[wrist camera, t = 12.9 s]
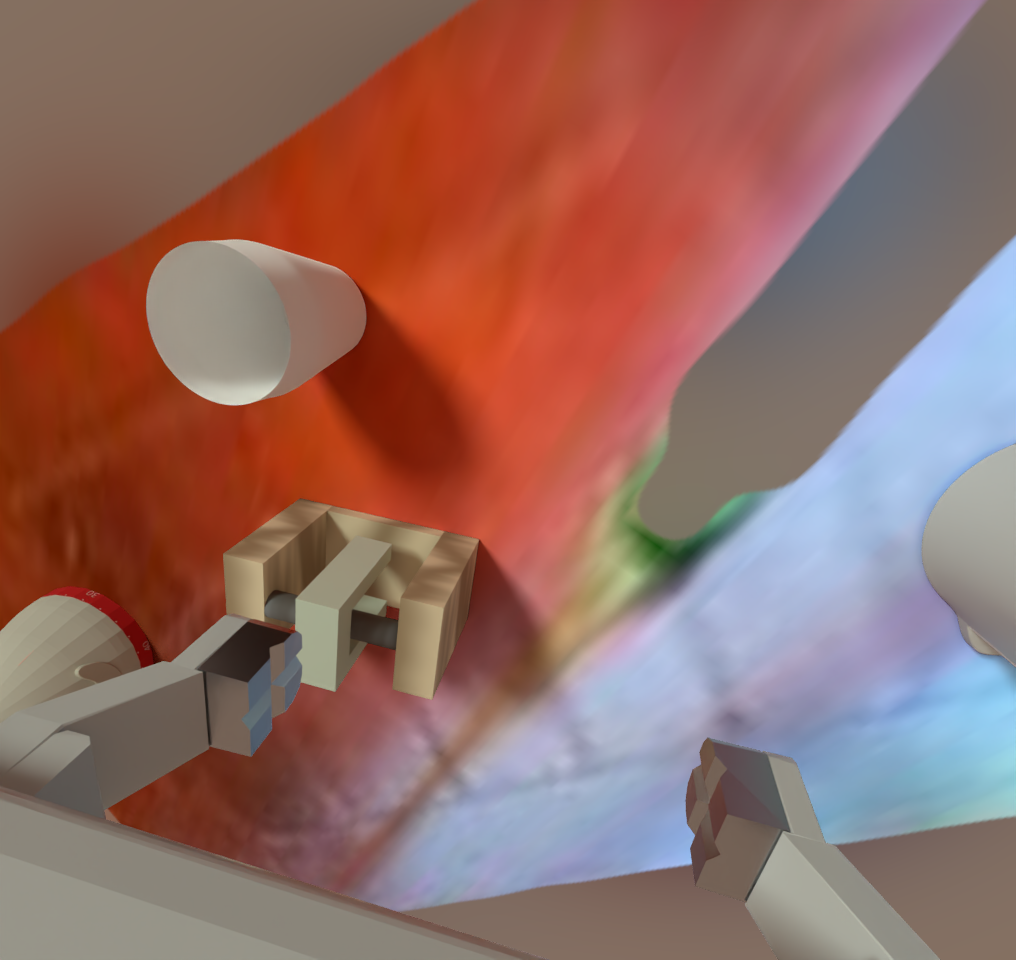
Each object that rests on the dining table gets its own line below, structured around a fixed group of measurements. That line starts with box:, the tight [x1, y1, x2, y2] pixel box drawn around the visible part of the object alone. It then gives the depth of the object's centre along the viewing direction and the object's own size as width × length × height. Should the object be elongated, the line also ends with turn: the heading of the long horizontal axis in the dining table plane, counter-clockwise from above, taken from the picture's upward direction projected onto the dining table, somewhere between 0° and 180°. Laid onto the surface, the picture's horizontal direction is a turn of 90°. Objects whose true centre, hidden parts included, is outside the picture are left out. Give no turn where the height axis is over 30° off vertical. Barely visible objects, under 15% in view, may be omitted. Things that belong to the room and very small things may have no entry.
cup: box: [146, 240, 366, 405], centre depth 35 cm, size 9×9×12 cm
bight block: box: [295, 535, 392, 692], centre depth 41 cm, size 3×7×9 cm, turn 170°
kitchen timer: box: [0, 586, 154, 723], centre depth 52 cm, size 14×14×15 cm
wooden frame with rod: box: [223, 499, 479, 700], centre depth 43 cm, size 16×8×10 cm, turn 81°
